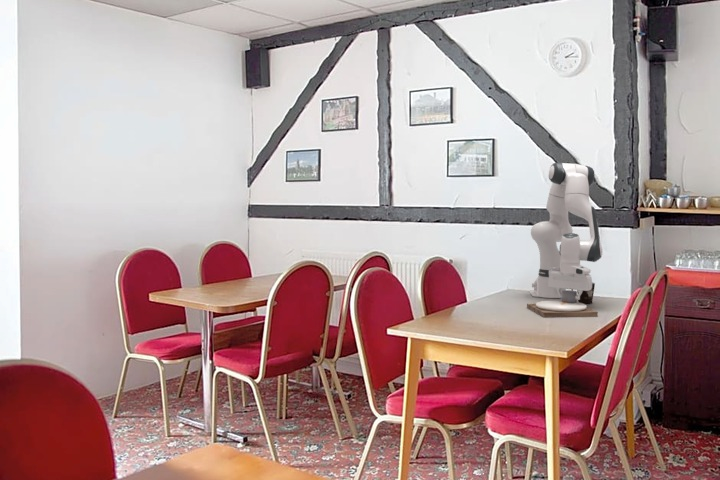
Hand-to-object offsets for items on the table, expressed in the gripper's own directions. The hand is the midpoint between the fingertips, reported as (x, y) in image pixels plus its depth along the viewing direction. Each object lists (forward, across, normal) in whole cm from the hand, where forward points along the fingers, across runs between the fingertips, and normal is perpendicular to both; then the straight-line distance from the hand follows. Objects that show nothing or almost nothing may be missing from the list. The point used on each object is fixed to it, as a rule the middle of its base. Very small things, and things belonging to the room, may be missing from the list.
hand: (569, 298), depth 326 cm
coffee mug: (+5, -3, +21) cm, 22 cm away
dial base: (+5, 0, -9) cm, 10 cm away
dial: (+3, 0, -8) cm, 9 cm away
